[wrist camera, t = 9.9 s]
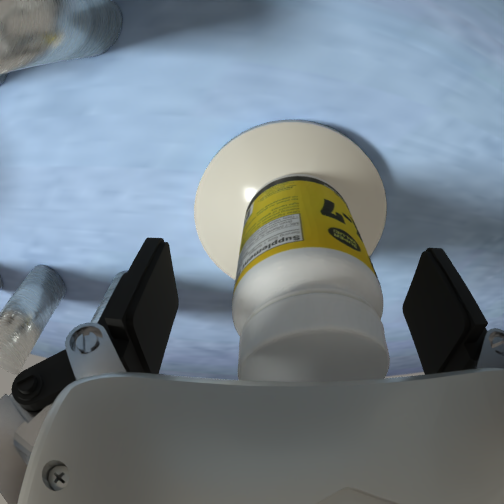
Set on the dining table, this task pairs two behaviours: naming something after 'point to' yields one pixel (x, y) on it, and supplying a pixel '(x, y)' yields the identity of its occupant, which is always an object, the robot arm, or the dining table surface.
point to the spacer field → (3, 61)
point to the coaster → (276, 165)
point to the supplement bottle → (306, 289)
